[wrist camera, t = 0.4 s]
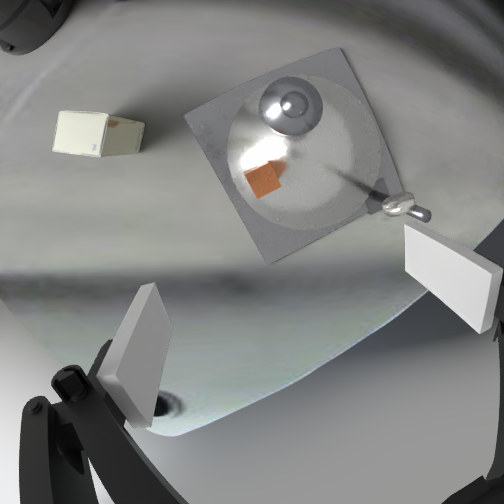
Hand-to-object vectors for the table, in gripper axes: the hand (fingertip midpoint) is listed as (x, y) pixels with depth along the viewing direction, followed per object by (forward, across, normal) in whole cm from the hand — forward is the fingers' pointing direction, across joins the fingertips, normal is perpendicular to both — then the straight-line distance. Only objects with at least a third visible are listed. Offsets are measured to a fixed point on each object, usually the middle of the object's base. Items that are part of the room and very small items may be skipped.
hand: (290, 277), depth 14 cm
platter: (+25, +8, +4) cm, 26 cm away
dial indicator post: (+26, +18, -4) cm, 32 cm away
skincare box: (+26, -15, +12) cm, 32 cm away
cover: (+23, +7, +10) cm, 26 cm away
